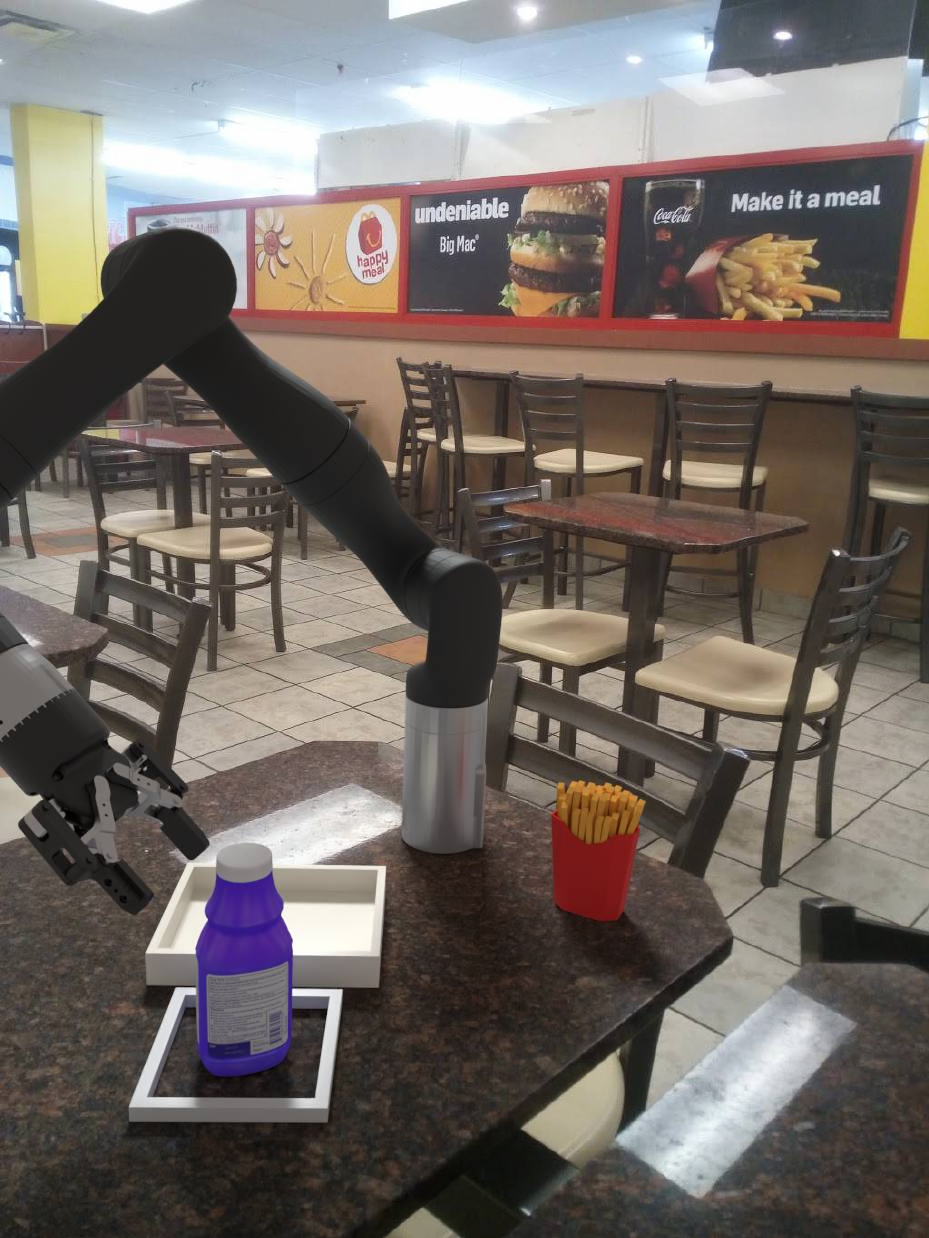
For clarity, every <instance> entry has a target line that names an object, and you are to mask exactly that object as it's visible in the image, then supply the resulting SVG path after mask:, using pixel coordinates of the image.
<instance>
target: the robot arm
mask: <svg viewBox="0 0 929 1238" xmlns="http://www.w3.org/2000/svg"><path fill="white" fill-rule="evenodd" d="M102 263H103V264H102V266H101V267H102V268H101V269H100V270H101V271H100V289H101V294H102V298H103V299H102V300H101V301H100V302H99V303H98V304H97V305H96V306H95V307H94V308H93V309H92V310H91V311H90V313H88V315H87V314H86V316H85V317H84V318H83V319H82V320H81V321H80V322H78V324H77V325H76V326H74V327H73V328H71V330H69V331H68V332H67V333H66V334H65V335H64V336H63V337H61V338H60V339H58V340H57V341H55V343H53V344H52V345H50V346H49V347H47V348H46V349H45V350H44V351H42V352H41V353H39V354H37V356H35V357H34V358H32V359H30V360H29V361H27V363H25V364H24V365H22V366H21V367H20V368H18V369H16V370H15V371H13V373H11V374H9V375H8V376H7V377H6V378H4V379H3V380H1V381H0V512H1V511H2V510H4V509H5V508H6V507H7V506H8V505H9V504H10V503H11V502H12V500H13V501H14V499H16V497H18V496H19V494H21V493H22V492H23V491H24V490H25V489H26V488H27V487H28V486H29V485H30V484H31V483H33V481H34V480H35V479H36V478H37V477H39V476H40V475H41V474H42V472H43V471H44V470H46V469H47V468H48V466H50V465H51V464H52V463H53V462H54V461H55V460H56V459H57V458H58V457H59V456H60V455H61V454H62V453H63V452H65V450H66V449H67V448H69V446H70V445H71V444H72V443H73V442H74V441H75V440H76V439H77V438H78V437H80V435H82V433H84V432H85V431H86V430H87V429H88V428H89V427H90V426H91V425H92V424H93V423H94V422H95V421H96V420H98V418H100V416H102V415H103V414H104V413H105V412H107V410H108V409H109V408H110V407H111V406H113V405H114V404H115V403H116V402H118V400H119V399H121V398H122V397H123V396H125V394H127V393H128V392H129V391H130V390H132V389H133V388H134V387H135V386H137V385H138V384H139V383H140V382H141V381H143V380H145V379H146V378H147V377H148V376H149V375H151V374H152V373H153V372H155V371H156V370H157V369H159V368H160V367H161V366H164V367H166V368H167V369H168V370H169V371H170V372H172V373H173V374H174V375H175V376H176V377H177V378H178V379H180V381H182V382H183V383H185V385H186V386H188V387H189V388H190V389H191V390H192V391H193V392H194V393H196V394H197V395H198V396H199V397H200V398H201V400H203V401H204V402H205V403H206V404H207V406H209V408H210V409H212V411H213V412H214V413H215V414H216V415H217V416H218V418H219V419H220V420H221V421H222V422H223V423H224V424H225V426H226V427H227V428H228V429H229V430H230V431H231V432H232V433H233V434H234V436H235V437H236V438H237V439H238V440H239V441H240V443H242V444H243V445H244V446H245V448H247V450H248V451H250V453H251V454H252V455H253V456H254V457H255V458H256V459H257V460H258V461H259V462H260V463H261V464H262V466H264V468H266V470H267V471H268V472H269V473H270V475H271V476H273V477H272V478H274V479H275V480H276V481H277V482H278V483H279V485H280V486H281V487H283V488H284V489H285V490H286V492H287V493H288V494H290V496H291V497H293V499H295V501H296V502H297V503H298V504H299V505H300V506H301V507H303V509H304V510H305V511H306V512H308V513H309V514H310V515H311V516H312V517H313V518H314V519H315V520H317V521H318V523H319V524H321V526H323V527H324V529H326V530H327V532H329V533H330V534H331V535H332V536H333V537H334V538H336V539H337V540H338V541H339V542H340V543H341V544H342V545H344V546H345V547H346V548H347V549H348V550H350V551H351V552H352V553H353V554H354V556H356V557H357V558H358V559H359V560H360V561H361V562H362V564H363V565H364V566H365V568H367V570H368V572H369V573H370V574H371V575H372V577H374V579H375V580H376V581H377V582H378V584H379V585H380V587H381V588H382V589H383V590H384V592H385V593H386V594H387V595H388V598H390V600H391V601H392V602H393V604H394V605H395V606H396V608H397V609H398V611H400V613H401V614H402V616H403V617H405V618H406V620H408V621H409V622H410V623H411V624H413V625H414V626H416V627H418V628H420V629H423V630H424V631H426V632H427V642H426V645H427V646H426V655H425V661H424V660H423V661H421V662H418V663H415V664H414V665H412V666H410V668H409V669H408V670H407V672H406V676H405V703H404V704H405V706H404V711H405V712H404V737H403V738H404V739H403V740H404V741H403V768H402V769H403V770H402V771H403V774H402V775H403V777H402V809H401V810H402V811H401V838H402V840H403V841H404V842H405V843H406V844H407V845H408V846H410V847H412V848H414V849H416V850H418V851H421V852H425V853H430V854H431V853H432V854H438V855H439V854H442V855H444V854H445V855H449V854H456V853H461V852H465V851H468V850H472V849H482V848H483V847H484V824H485V805H486V804H485V803H486V783H487V767H486V762H485V761H486V748H487V747H486V745H487V729H488V728H487V727H488V725H487V723H488V721H487V720H488V706H489V705H488V703H489V688H490V684H491V682H492V679H493V677H494V675H495V673H496V669H497V664H498V658H499V649H500V639H501V630H502V621H503V607H504V605H503V600H504V599H503V589H502V585H501V581H500V578H499V576H498V574H497V573H496V571H495V570H494V569H493V567H492V566H491V565H490V564H488V563H487V562H485V561H482V560H480V559H477V558H475V557H472V556H469V555H466V554H463V553H460V552H456V551H453V550H450V549H448V548H446V547H444V546H443V545H442V544H440V543H439V542H437V540H435V539H434V538H433V537H432V536H431V535H430V534H428V533H427V532H426V531H425V530H424V528H422V527H421V526H420V525H419V524H418V523H417V522H416V521H415V520H414V519H413V518H412V516H410V514H409V513H408V512H407V511H406V509H405V508H404V506H403V505H402V504H401V502H400V500H399V498H398V495H397V492H396V491H395V487H394V485H393V483H392V480H391V477H390V475H389V472H388V470H387V468H386V464H384V462H383V459H382V458H381V455H380V454H379V453H378V451H377V450H376V449H375V447H374V446H373V445H372V443H371V442H370V441H369V439H368V438H366V437H365V434H363V432H362V431H360V430H359V428H358V427H357V425H355V424H354V422H353V421H352V420H351V419H350V418H349V417H348V416H347V415H346V413H345V412H344V411H343V410H342V409H341V408H340V407H339V406H338V405H336V403H334V402H333V401H332V400H331V399H330V398H329V397H328V396H326V395H325V394H324V393H322V392H321V391H320V390H318V389H317V388H316V387H314V385H311V384H310V383H309V382H307V381H306V380H305V379H303V378H302V377H300V376H298V375H297V374H296V373H295V372H293V371H291V370H289V369H288V368H286V367H285V366H283V365H282V364H280V363H279V361H276V360H274V359H273V358H272V357H271V356H269V355H268V354H267V353H266V352H264V351H262V350H261V349H260V348H259V347H258V346H257V345H255V343H253V342H252V341H251V340H250V339H249V337H248V336H246V334H245V333H244V332H243V331H242V330H241V329H240V328H239V326H238V325H237V324H236V323H235V322H234V320H233V319H232V318H231V317H230V314H231V312H232V310H233V308H234V306H235V303H236V299H237V293H238V284H237V283H238V278H237V274H236V269H235V266H234V263H233V262H232V259H231V257H230V255H229V253H228V252H227V250H226V249H225V248H224V247H223V245H221V244H220V242H219V241H218V240H217V239H215V238H214V237H213V236H212V235H210V234H209V233H206V232H205V231H203V230H200V229H198V228H195V227H190V226H187V225H186V226H185V225H184V226H183V225H168V226H162V227H155V228H154V229H151V230H149V231H145V232H144V233H141V234H139V235H135V236H133V237H131V238H128V239H126V240H124V241H122V242H120V243H119V244H117V245H116V246H115V247H114V248H113V249H111V251H110V252H109V253H108V254H107V256H106V257H105V259H104V261H103V262H102ZM110 735H111V728H110V727H109V726H108V725H107V723H106V722H105V721H104V720H103V719H102V718H101V717H100V715H99V714H98V713H97V712H96V711H95V710H94V709H93V708H92V707H91V705H89V703H88V702H87V701H86V700H85V699H84V697H83V696H82V695H81V694H80V693H79V691H77V690H76V689H75V687H74V686H73V685H72V684H71V683H70V682H69V681H68V680H67V678H66V677H64V676H63V675H62V673H61V672H60V671H59V670H58V669H57V668H56V666H55V665H54V664H53V663H51V662H50V661H49V660H48V659H47V658H46V657H44V656H43V655H42V654H41V653H39V651H37V650H36V649H35V648H34V647H33V646H32V645H31V644H29V642H28V640H27V639H26V638H25V636H23V635H22V633H20V632H19V630H18V629H17V628H16V627H15V626H14V625H13V624H12V623H11V621H10V620H8V618H6V616H5V615H4V614H3V613H2V612H1V611H0V768H1V769H2V770H3V771H4V772H5V774H6V775H8V777H9V778H10V779H11V780H12V782H14V783H15V785H16V786H18V788H19V789H20V790H21V791H22V792H23V793H24V794H25V795H26V796H28V797H37V796H40V798H41V800H39V801H38V802H37V803H36V804H35V805H34V806H33V807H32V808H31V809H30V810H28V811H27V813H26V814H25V815H24V816H23V817H22V818H21V819H20V820H18V823H17V826H18V829H19V830H20V832H22V834H23V835H24V836H25V837H26V839H27V840H28V841H29V842H30V843H31V844H32V846H33V847H34V848H35V850H36V851H37V852H38V853H39V854H40V856H42V858H43V859H44V860H45V862H46V863H47V864H48V865H49V867H51V868H50V869H52V870H53V871H54V873H55V874H56V875H57V877H59V879H60V880H61V881H62V882H63V883H64V885H66V886H68V887H74V886H76V885H77V884H78V883H80V882H83V881H90V882H93V881H94V882H96V883H97V884H98V885H99V886H100V887H101V888H102V889H103V890H104V892H106V893H107V895H108V896H109V897H110V898H111V899H112V900H113V902H115V903H116V905H117V906H118V907H119V908H120V909H121V910H123V911H125V912H126V913H129V915H133V916H137V915H138V914H139V913H140V912H141V911H142V910H144V909H145V908H146V907H147V906H148V905H149V904H150V903H152V901H153V900H154V899H155V893H154V892H153V891H152V889H151V888H150V887H149V886H148V885H147V884H146V883H145V882H144V881H143V879H142V878H140V876H139V875H138V874H137V873H136V872H135V870H134V869H133V868H131V866H130V865H129V864H128V863H127V861H125V859H123V858H121V859H119V860H118V858H119V855H118V851H117V848H116V843H115V839H114V835H115V832H116V829H117V828H116V823H118V822H120V821H121V820H122V819H124V817H127V818H130V819H137V818H143V819H146V820H148V821H151V822H153V823H155V824H158V825H162V826H160V827H159V830H160V831H162V833H164V835H165V836H166V838H168V840H169V841H171V843H172V844H173V845H174V846H175V847H176V848H177V849H178V850H179V852H180V853H182V855H183V856H184V857H185V858H186V859H187V861H195V860H196V859H197V858H198V857H199V856H200V855H201V854H203V853H204V852H205V851H206V850H207V849H208V848H209V847H210V844H211V843H210V840H209V838H207V835H206V834H205V832H204V831H203V830H202V829H201V828H200V827H199V826H198V824H197V823H196V822H195V821H194V819H192V818H191V816H190V815H188V813H187V812H186V811H185V810H184V808H183V805H184V804H183V798H184V796H185V795H186V794H187V793H188V792H189V785H188V784H187V783H186V782H185V781H184V780H183V779H182V778H181V777H180V775H179V774H178V773H176V771H174V769H173V768H171V767H170V765H168V763H167V762H166V761H165V760H164V759H163V758H162V757H161V756H160V755H159V754H158V753H157V752H156V750H155V749H153V748H152V747H151V746H150V745H149V743H147V741H145V740H144V739H143V738H140V737H137V738H136V739H135V740H133V741H132V742H131V743H130V744H129V745H127V747H125V748H124V749H123V750H122V752H119V751H117V750H116V749H114V747H112V746H111V745H110V743H109V737H110ZM158 778H160V779H162V780H163V781H164V782H165V784H166V785H167V786H168V787H169V788H168V789H167V790H165V789H164V788H163V787H162V786H161V784H160V783H159V782H158V781H157V779H158ZM153 804H157V806H156V805H153ZM64 849H65V850H66V852H67V853H68V854H69V856H70V857H71V858H72V859H73V860H74V861H73V862H71V861H70V860H69V858H68V857H67V855H66V854H65V853H64Z"/></svg>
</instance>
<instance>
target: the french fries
mask: <svg viewBox="0 0 929 1238" xmlns="http://www.w3.org/2000/svg"><path fill="white" fill-rule="evenodd" d="M557 783H558V784H557V785H556V805H557V807H556V809H555V810H554V811H553V812H552V813H551V814H550V816H551V817H550V819H551V841H552V842H551V844H552V845H551V846H552V850H551V851H552V875H553V876H552V877H553V903H555V904H556V906H557V907H559V908H560V909H561V910H563V911H565V912H568V913H572V914H575V915H578V916H582V917H585V918H588V919H593V920H596V921H600V922H609V921H618V919H619V918H620V917H621V915H622V914H623V912H624V910H625V906H626V900H627V895H628V891H629V886H630V882H631V881H630V880H631V876H632V870H633V866H634V861H635V857H636V851H637V846H638V843H639V842H638V841H639V837H640V832H641V826H639V822H640V819H641V817H642V814H643V810H644V808H645V805H646V804H647V803H646V800H644V799H642V798H639V797H638V795H634V794H633V793H632V792H631V791H630V790H625V789H624V790H623V791H622V789H623V787H622V786H620V785H618V784H616V785H615V786H612V785H613V783H609V782H605V784H604V785H599V784H598V785H596V783H594V782H591V781H589V782H588V783H587V785H586V781H583V780H578V781H573V780H572V781H571V783H570V784H569V786H568V788H567V791H566V789H565V788H566V787H565V786H566V784H565V782H557ZM638 798H639V800H638Z"/></svg>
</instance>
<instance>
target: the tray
mask: <svg viewBox="0 0 929 1238" xmlns="http://www.w3.org/2000/svg"><path fill="white" fill-rule="evenodd" d="M272 864H273V869H272V871H273V879H274V883H275V887H276V889H277V892H278V893H279V895H280V896H281V898H282V899H283V901H284V908H283V911H282V913H281V915H282V918H283V919H284V921H285V923H286V926H287V928H288V931H289V932H290V934H291V936H292V939H293V943H292V948H293V973H292V988H295V987H296V988H301V987H302V988H304V987H305V988H360V989H361V988H364V989H365V988H371V989H373V988H375V989H376V988H380V979H381V978H380V976H381V975H380V974H381V962H382V949H383V948H382V946H383V932H384V919H385V918H384V917H385V907H386V906H385V902H386V889H387V888H386V885H387V884H386V882H387V880H386V879H387V866H386V865H353V864H352V865H346V864H345V865H343V864H342V865H341V864H339V865H337V864H334V865H333V864H294V863H293V864H292V863H291V864H290V863H289V864H287V863H286V864H283V863H282V864H280V863H272ZM215 882H216V862H187V864H186V866H185V867H184V870H183V872H182V874H181V877H180V878H179V881H178V883H177V885H176V887H175V889H174V891H173V893H172V896H170V897H171V898H170V900H169V902H168V904H167V906H166V908H165V909H164V910H165V911H164V913H163V915H162V917H161V919H160V921H159V923H158V926H157V928H156V930H155V932H154V934H153V935H152V937H151V940H150V942H149V944H148V946H147V949H146V951H145V953H144V955H145V957H144V958H145V973H146V974H145V975H146V981H145V982H146V986H182V987H183V986H187V987H188V986H192V987H194V986H195V987H196V950H195V948H196V945H197V941H198V939H199V936H200V933H201V931H202V929H203V927H204V926H205V924H206V922H207V920H208V919H207V918H206V915H205V906H206V904H207V902H208V900H209V899H210V897H211V896H212V894H213V891H214V887H215Z"/></svg>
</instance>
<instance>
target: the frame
mask: <svg viewBox="0 0 929 1238" xmlns="http://www.w3.org/2000/svg"><path fill="white" fill-rule="evenodd" d="M343 992H344V990H343V988H339V989H338V988H292V1009H303V1010H304V1009H309V1010H310V1009H313V1010H314V1009H321V1010H322V1009H323V1010H324V1009H325V1010H326V1009H327V1015H326V1021H325V1028H324V1034H323V1040H322V1047H321V1052H320V1053H321V1055H320V1060H319V1061H320V1062H319V1068H318V1075H317V1081H316V1082H317V1083H316V1089H315V1095H314V1098H313V1097H311V1098H310V1097H307V1098H306V1097H301V1098H300V1097H298V1098H297V1097H179V1096H178V1097H175V1096H172V1097H167V1096H166V1097H164V1096H163V1097H160V1096H159V1097H158V1096H157V1097H155V1096H154V1095H155V1093H156V1089H157V1087H158V1083H159V1080H160V1078H161V1075H162V1072H163V1070H164V1067H165V1064H166V1062H167V1059H168V1057H169V1054H170V1051H171V1048H172V1046H173V1043H174V1041H175V1037H176V1034H177V1033H178V1029H179V1027H180V1024H181V1021H182V1019H183V1015H184V1012H185V1010H186V1008H196V987H188V986H187V987H183V986H182V987H181V986H179V987H175V988H174V991H173V994H172V997H171V999H170V1001H169V1004H168V1006H167V1009H166V1011H165V1014H164V1017H163V1019H162V1022H161V1023H160V1027H159V1029H158V1032H157V1034H156V1037H155V1039H154V1042H153V1043H152V1047H151V1049H150V1052H149V1055H148V1058H147V1059H146V1063H145V1065H144V1067H143V1069H142V1072H141V1076H140V1077H139V1080H138V1082H137V1085H136V1087H135V1090H134V1092H133V1095H132V1097H131V1101H130V1102H129V1106H128V1122H131V1123H132V1122H135V1123H137V1122H138V1123H140V1122H142V1123H143V1122H144V1123H148V1122H149V1123H151V1122H152V1123H153V1122H154V1123H155V1122H156V1123H158V1122H159V1123H165V1122H166V1123H172V1122H173V1123H176V1122H177V1123H184V1122H185V1123H324V1124H325V1123H328V1121H329V1112H330V1106H331V1105H330V1104H331V1096H332V1090H333V1089H332V1088H333V1080H334V1074H335V1073H334V1072H335V1065H336V1056H337V1049H338V1040H339V1032H340V1026H341V1025H340V1024H341V1017H342V1016H341V1015H342V1008H343V1002H344V1001H343V999H344V997H343V995H344V993H343Z"/></svg>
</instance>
